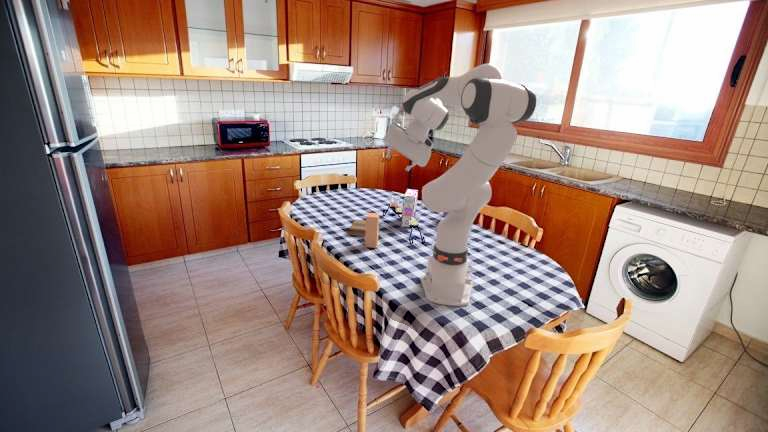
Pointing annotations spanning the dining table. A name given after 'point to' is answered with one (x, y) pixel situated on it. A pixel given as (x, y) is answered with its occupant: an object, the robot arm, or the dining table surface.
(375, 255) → the dining table surface
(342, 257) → the dining table surface
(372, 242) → the terracotta block
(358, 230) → the walnut riser
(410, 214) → the candy box
